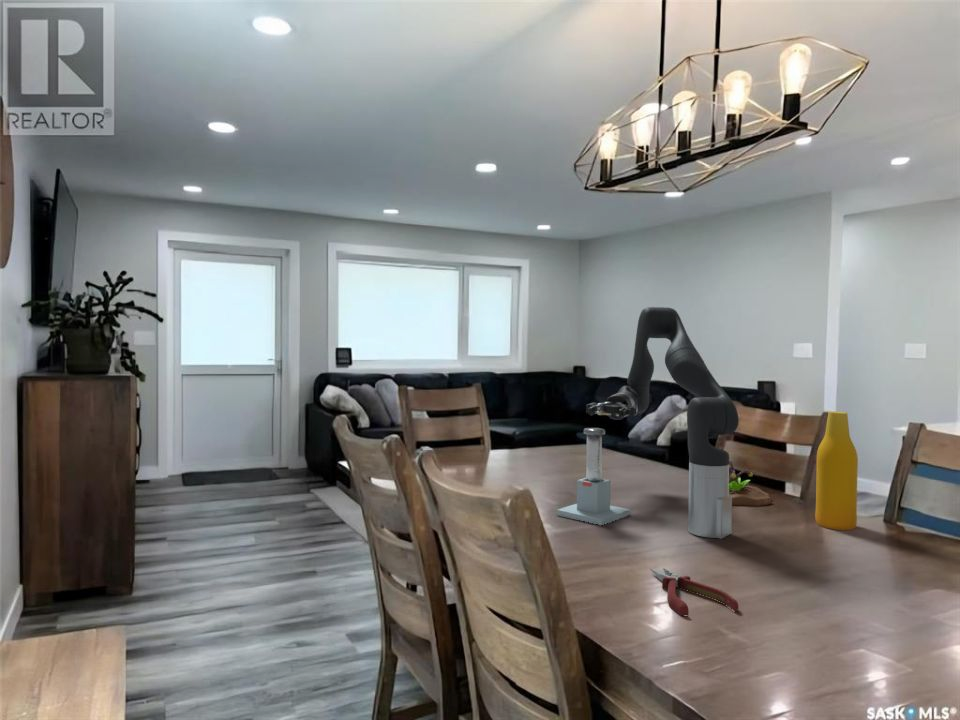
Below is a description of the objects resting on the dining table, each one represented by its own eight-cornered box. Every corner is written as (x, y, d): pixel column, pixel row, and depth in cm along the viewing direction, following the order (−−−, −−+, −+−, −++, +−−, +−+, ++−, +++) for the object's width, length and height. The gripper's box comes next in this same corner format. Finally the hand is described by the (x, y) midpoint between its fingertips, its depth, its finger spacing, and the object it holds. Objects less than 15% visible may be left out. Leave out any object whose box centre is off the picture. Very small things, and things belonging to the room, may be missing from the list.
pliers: (682, 573, 129) (683, 560, 129) (741, 615, 109) (742, 600, 109) (630, 577, 127) (630, 564, 126) (680, 620, 107) (681, 605, 107)
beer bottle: (815, 527, 159) (817, 413, 159) (815, 518, 168) (817, 409, 167) (857, 532, 155) (860, 415, 154) (855, 523, 163) (857, 411, 163)
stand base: (629, 514, 170) (630, 479, 170) (601, 525, 160) (602, 488, 160) (586, 505, 180) (586, 472, 180) (556, 515, 170) (557, 480, 169)
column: (608, 507, 170) (608, 429, 169) (596, 511, 166) (597, 431, 165) (590, 504, 174) (591, 427, 173) (579, 507, 170) (579, 429, 169)
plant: (755, 492, 199) (756, 456, 199) (778, 508, 180) (779, 469, 180) (690, 490, 201) (691, 455, 201) (706, 506, 182) (707, 467, 182)
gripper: (597, 392, 196) (581, 398, 182) (643, 394, 190) (630, 401, 175) (597, 416, 197) (580, 423, 182) (643, 419, 190) (630, 427, 176)
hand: (605, 412), depth 179 cm, fingers open, 8 cm apart
